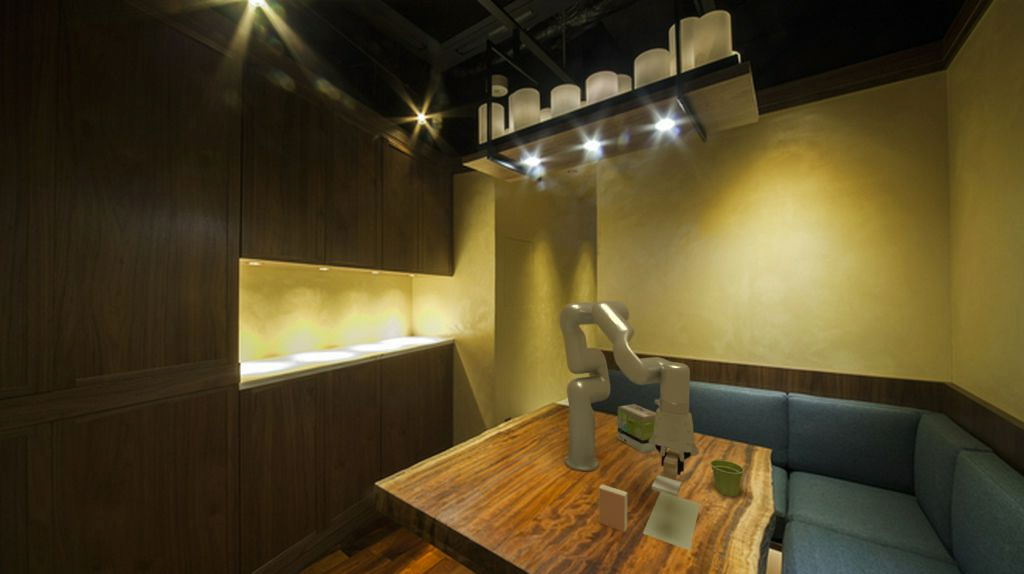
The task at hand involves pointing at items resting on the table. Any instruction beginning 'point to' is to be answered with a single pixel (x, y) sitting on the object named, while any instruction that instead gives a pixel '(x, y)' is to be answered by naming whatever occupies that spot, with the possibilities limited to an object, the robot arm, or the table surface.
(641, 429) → the tea box
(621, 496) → the tile
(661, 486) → the turner
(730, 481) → the plant pot
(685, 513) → the board
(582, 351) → the robot arm
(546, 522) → the table surface
